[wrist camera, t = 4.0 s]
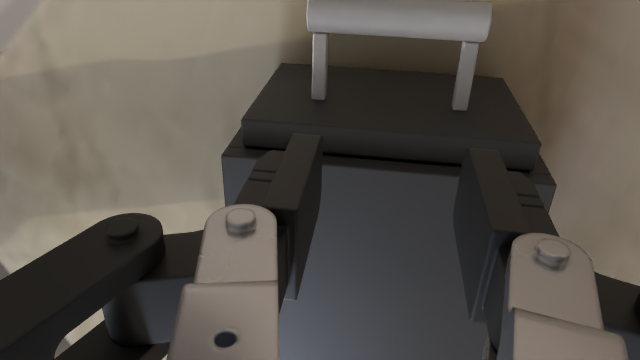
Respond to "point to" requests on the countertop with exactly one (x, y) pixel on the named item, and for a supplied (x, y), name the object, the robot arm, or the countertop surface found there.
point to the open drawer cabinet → (394, 92)
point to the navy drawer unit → (379, 262)
